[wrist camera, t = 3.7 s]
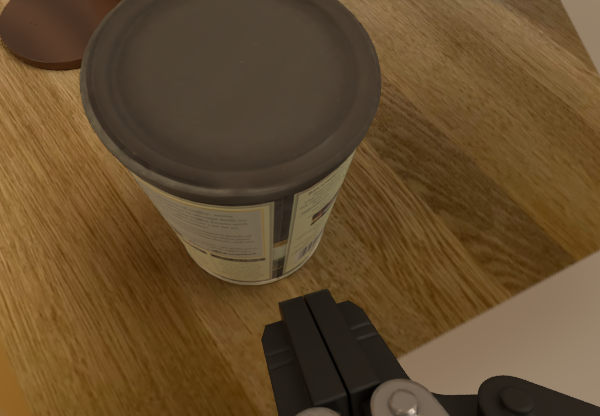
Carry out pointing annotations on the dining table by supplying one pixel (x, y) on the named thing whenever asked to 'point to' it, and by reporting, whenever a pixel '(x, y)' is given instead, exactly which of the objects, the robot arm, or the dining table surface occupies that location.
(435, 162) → the dining table surface
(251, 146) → the coffee can
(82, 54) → the dark brown wooden coaster
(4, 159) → the dining table surface
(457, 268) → the dining table surface
